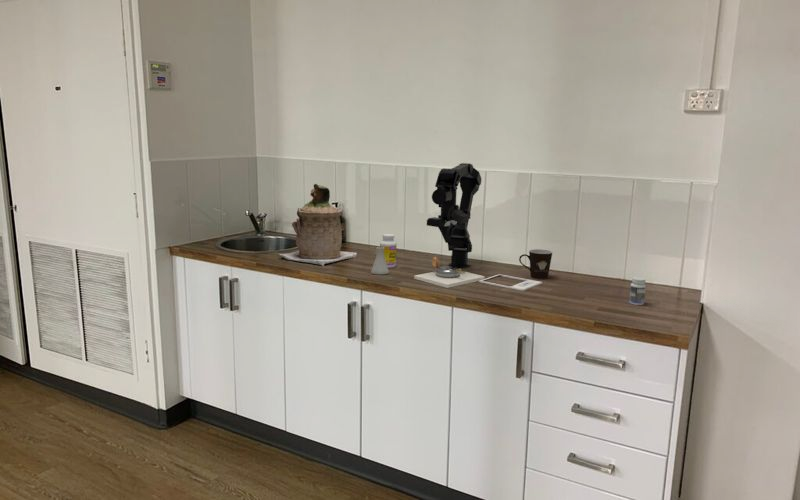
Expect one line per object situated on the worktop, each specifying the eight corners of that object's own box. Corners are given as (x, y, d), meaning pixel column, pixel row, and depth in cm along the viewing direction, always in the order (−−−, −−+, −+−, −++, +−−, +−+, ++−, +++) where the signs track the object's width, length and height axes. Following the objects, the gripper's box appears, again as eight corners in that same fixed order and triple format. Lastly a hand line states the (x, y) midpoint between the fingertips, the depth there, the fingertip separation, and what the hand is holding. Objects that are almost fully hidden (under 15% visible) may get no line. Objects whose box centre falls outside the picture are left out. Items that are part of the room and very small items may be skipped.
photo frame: (523, 289, 215) (479, 280, 226) (522, 292, 215) (478, 283, 226) (542, 281, 226) (499, 273, 237) (542, 284, 226) (499, 276, 237)
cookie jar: (359, 257, 266) (359, 182, 260) (322, 267, 246) (322, 186, 240) (315, 250, 279) (314, 179, 273) (277, 259, 259) (275, 182, 253)
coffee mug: (552, 276, 237) (554, 250, 235) (548, 280, 230) (550, 254, 228) (522, 272, 242) (524, 247, 240) (517, 277, 234) (518, 251, 232)
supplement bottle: (389, 268, 245) (389, 236, 242) (376, 266, 249) (376, 234, 246) (399, 266, 250) (400, 234, 247) (386, 263, 254) (387, 232, 251)
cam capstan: (471, 276, 227) (472, 262, 226) (454, 280, 221) (455, 265, 220) (441, 269, 239) (441, 255, 238) (424, 272, 233) (425, 258, 232)
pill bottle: (626, 301, 204) (628, 276, 202) (640, 301, 204) (642, 276, 203) (632, 305, 199) (635, 280, 198) (646, 305, 200) (649, 280, 198)
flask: (387, 275, 233) (387, 249, 231) (368, 274, 235) (368, 248, 233) (391, 271, 240) (391, 246, 238) (373, 270, 242) (373, 245, 240)
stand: (451, 271, 242) (451, 265, 242) (484, 279, 230) (484, 273, 229) (414, 278, 229) (414, 272, 229) (447, 287, 217) (447, 281, 216)
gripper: (449, 206, 222) (448, 248, 225) (480, 202, 235) (478, 242, 238) (426, 203, 229) (425, 244, 232) (457, 199, 242) (455, 238, 245)
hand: (447, 242), depth 237 cm, fingers closed
